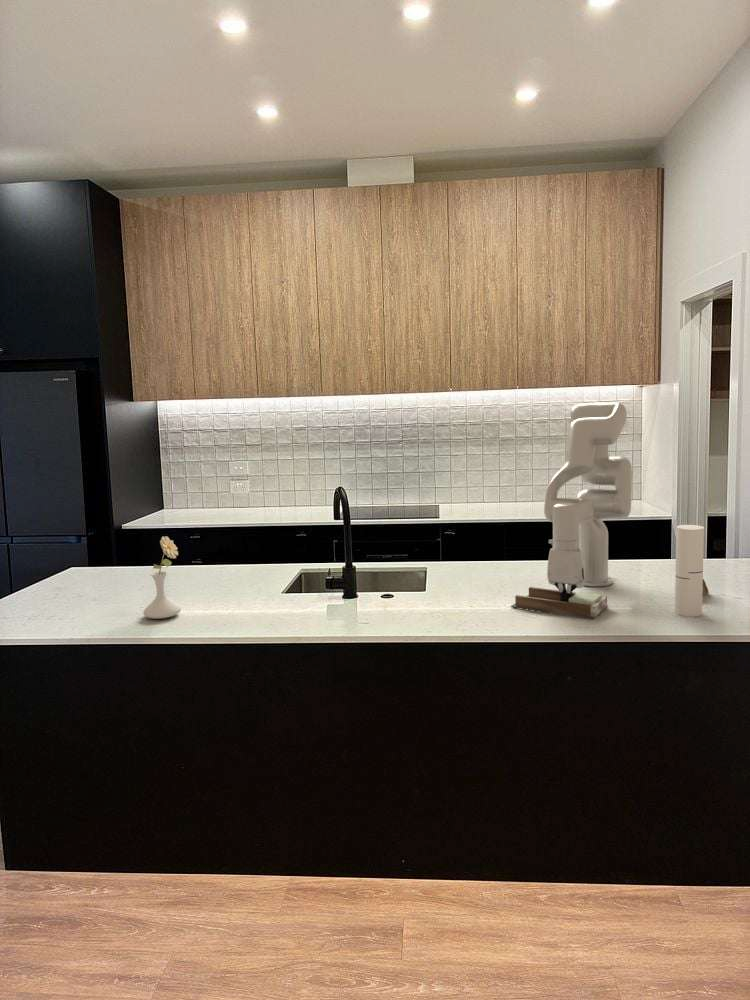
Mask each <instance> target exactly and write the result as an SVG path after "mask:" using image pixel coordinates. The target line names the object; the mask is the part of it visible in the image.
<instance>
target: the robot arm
mask: <svg viewBox="0 0 750 1000" xmlns="http://www.w3.org/2000/svg"><path fill="white" fill-rule="evenodd" d="M627 413H628V411H627V409H626V406H625V405H624V404H623V403H621V402H587V403H580V404H575V405H573V406H572V407H571V409H570V420H571V423H570V425H569V429H568V436H567V444H566V450H565V451H566V452H565V459H564V460H565V461H564V464H563V466H562V467H561V468H560V469H559V470H558V471H556V473H555V474H554V475H553V476H552V478H551V480H550V481H549V483H548V485H547V488H546V492H545V498H544V504H543V505H544V508H543V510H544V511H543V512H544V516H545V517H544V518H546V520H547V521H548V522H551V523H552V539H548V545H549V544H550V545H551V546H552V548H550V549H549V552H548V553H549V554H548V559H547V573H546V578H547V580H548V584H550V585H552V586H555V587H556V588H557V590H559V592H561V601H565V602H569V598H571V597H572V592H574V591H575V590H576V589H582V588H585V587H592V588H593V587H595V588H596V587H598V588H599V587H600V588H601V587H607V586H611V585H612V584H613V583H614V581H613V578H612V577H610V576H609V531H608V527H607V526H606V524H605V522H604V521H603V520H602V519H609V520H610V519H612V520H615V519H616V520H625V519H627V518H628V517H629V516H630V514H631V511H632V493H633V492H632V491H633V487H632V486H633V485H632V484H633V469H632V464H631V461H630V459H628V457H625V456H610V455H609V446H610V445H613V444H615V443H617V441H618V439H619V438H620V435H621V433H622V431H623V429H624V427H625V424H626V422H627V418H628V417H627V416H628V414H627ZM579 477H581V480H582V482H583V483H584V484H587V485H592V486H614V487H615V488H616V489H605V488H588V489H583V490H582V489H581V491H579V492H578V493H577V495H576V497H575V498H571V497H570V498H567V497H565V498H564V497H558V494H559V491H560V489H561V488H562V487H563V486H565V484H567V483H568V482H569V481H571V480H573V479H576V478H579Z"/></svg>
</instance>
